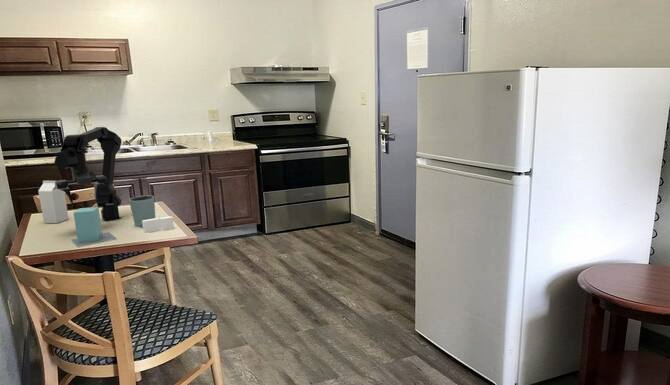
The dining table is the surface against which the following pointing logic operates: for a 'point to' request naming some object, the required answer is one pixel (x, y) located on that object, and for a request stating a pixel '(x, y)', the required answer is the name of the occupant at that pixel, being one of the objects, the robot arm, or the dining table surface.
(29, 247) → the dining table surface
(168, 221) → the napkin holder
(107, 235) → the slate mat
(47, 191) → the milk carton
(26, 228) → the dining table surface
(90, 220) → the teal rectangular block
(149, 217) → the teal tapered cup
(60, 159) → the robot arm
